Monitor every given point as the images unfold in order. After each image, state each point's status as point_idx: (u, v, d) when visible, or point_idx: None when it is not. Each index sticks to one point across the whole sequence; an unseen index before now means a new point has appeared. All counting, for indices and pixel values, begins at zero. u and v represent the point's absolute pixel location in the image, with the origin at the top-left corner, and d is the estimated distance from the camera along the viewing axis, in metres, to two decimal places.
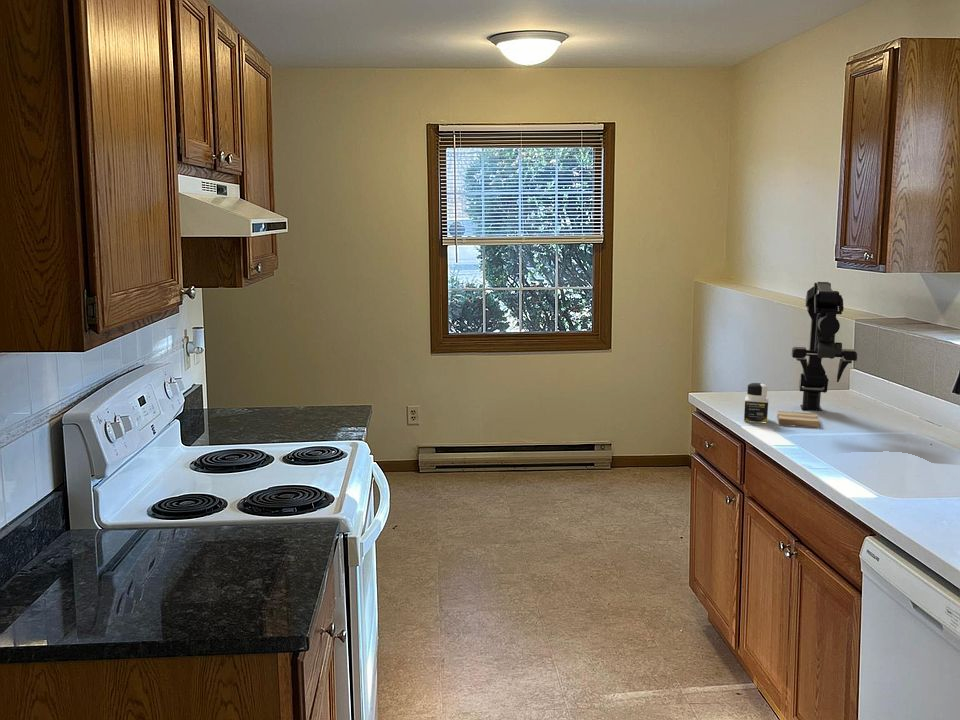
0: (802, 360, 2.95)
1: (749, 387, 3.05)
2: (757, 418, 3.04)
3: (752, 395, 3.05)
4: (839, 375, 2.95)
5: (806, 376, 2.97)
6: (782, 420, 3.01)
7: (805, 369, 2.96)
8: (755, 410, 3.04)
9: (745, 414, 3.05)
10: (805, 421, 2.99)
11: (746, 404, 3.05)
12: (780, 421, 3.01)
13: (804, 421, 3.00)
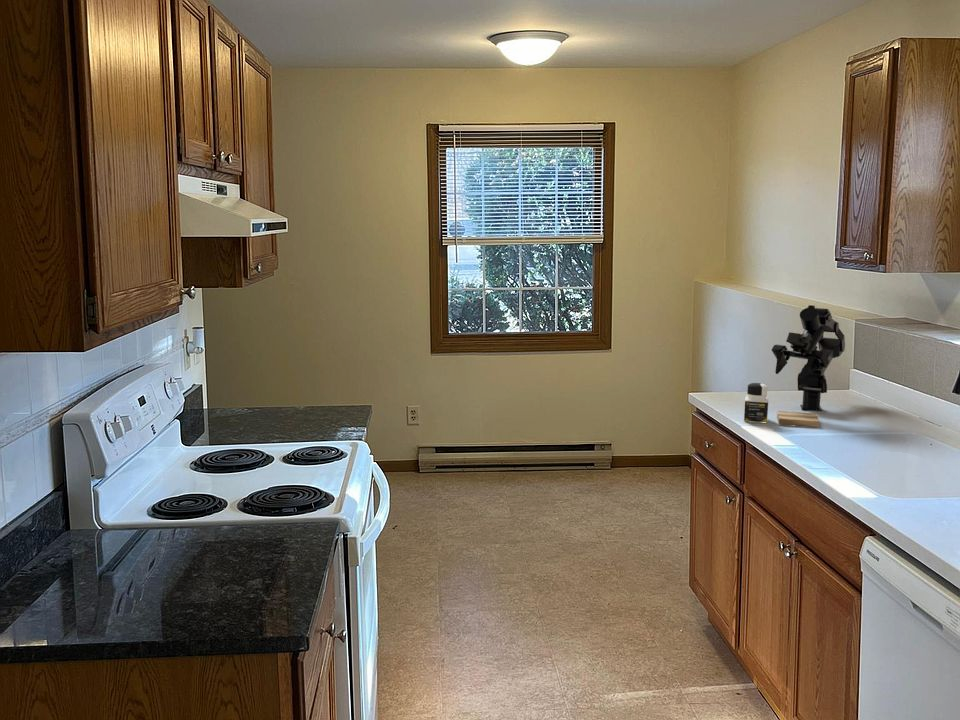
0: (777, 352, 3.19)
1: (749, 387, 3.05)
2: (757, 418, 3.04)
3: (752, 395, 3.04)
4: (803, 370, 3.10)
5: (776, 368, 3.17)
6: (782, 420, 3.01)
7: (778, 362, 3.18)
8: (755, 410, 3.04)
9: (745, 414, 3.05)
10: (805, 421, 2.99)
11: (746, 404, 3.05)
12: (780, 421, 3.01)
13: (804, 421, 3.00)
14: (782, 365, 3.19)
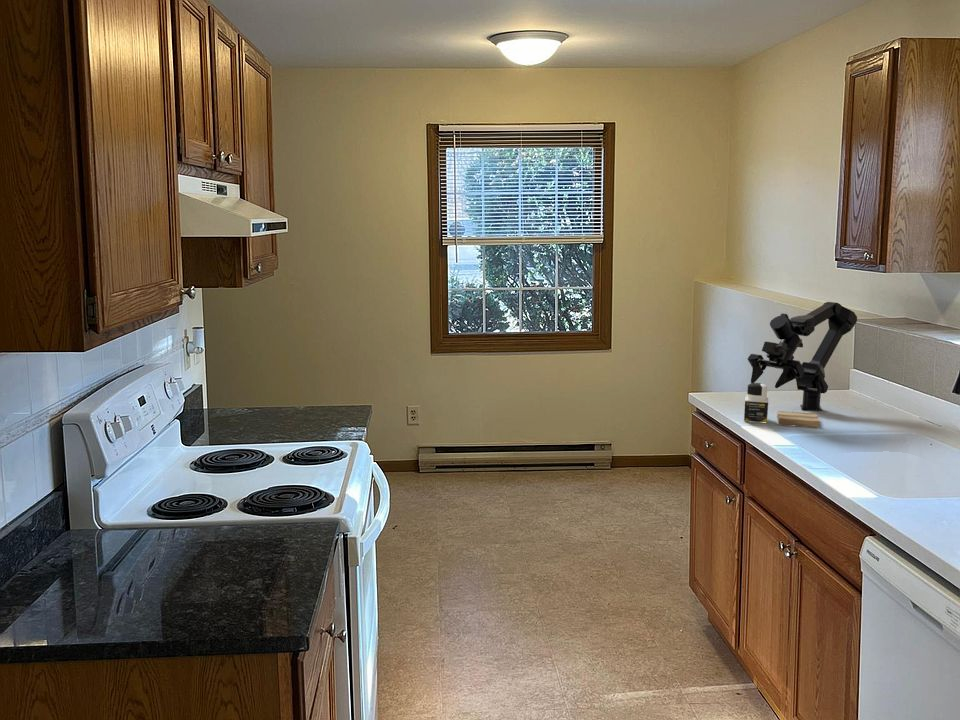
0: (753, 361, 3.14)
1: (749, 387, 3.05)
2: (757, 418, 3.04)
3: (752, 395, 3.04)
4: (778, 380, 3.05)
5: (752, 378, 3.12)
6: (782, 420, 3.01)
7: (753, 372, 3.13)
8: (755, 410, 3.04)
9: (745, 414, 3.05)
10: (805, 421, 2.99)
11: (746, 404, 3.05)
12: (780, 421, 3.01)
13: (804, 421, 3.00)
14: (758, 375, 3.14)
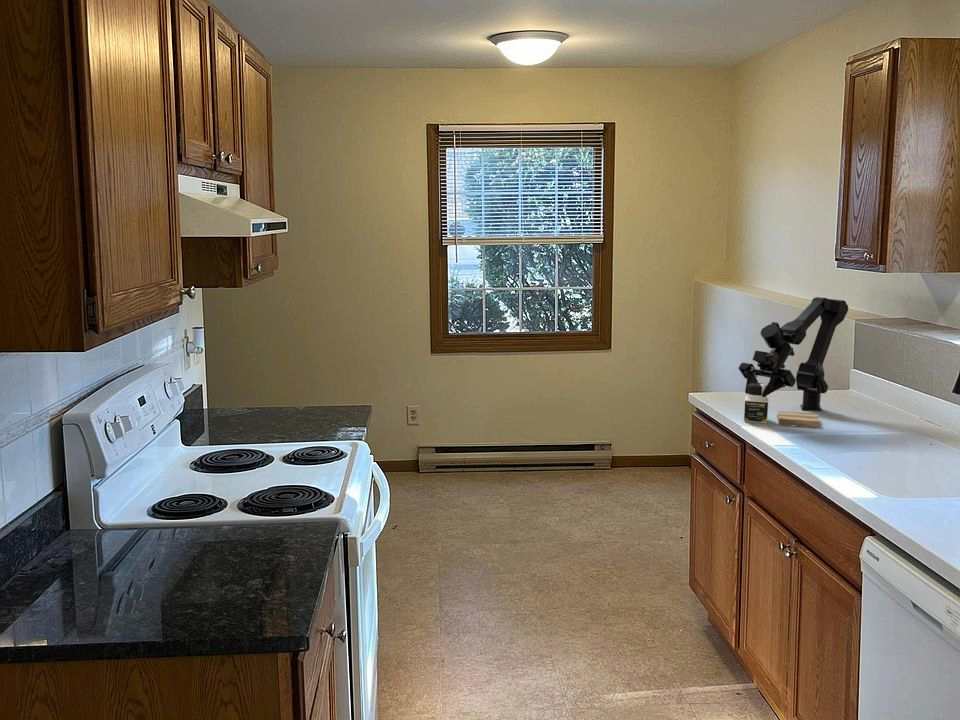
0: (747, 371, 3.10)
1: (749, 387, 3.05)
2: (757, 418, 3.04)
3: (752, 395, 3.04)
4: (765, 389, 3.03)
5: (746, 388, 3.08)
6: (782, 420, 3.01)
7: (748, 381, 3.09)
8: (755, 410, 3.04)
9: (745, 414, 3.05)
10: (805, 421, 2.99)
11: (746, 404, 3.05)
12: (780, 421, 3.01)
13: (804, 421, 3.00)
14: None
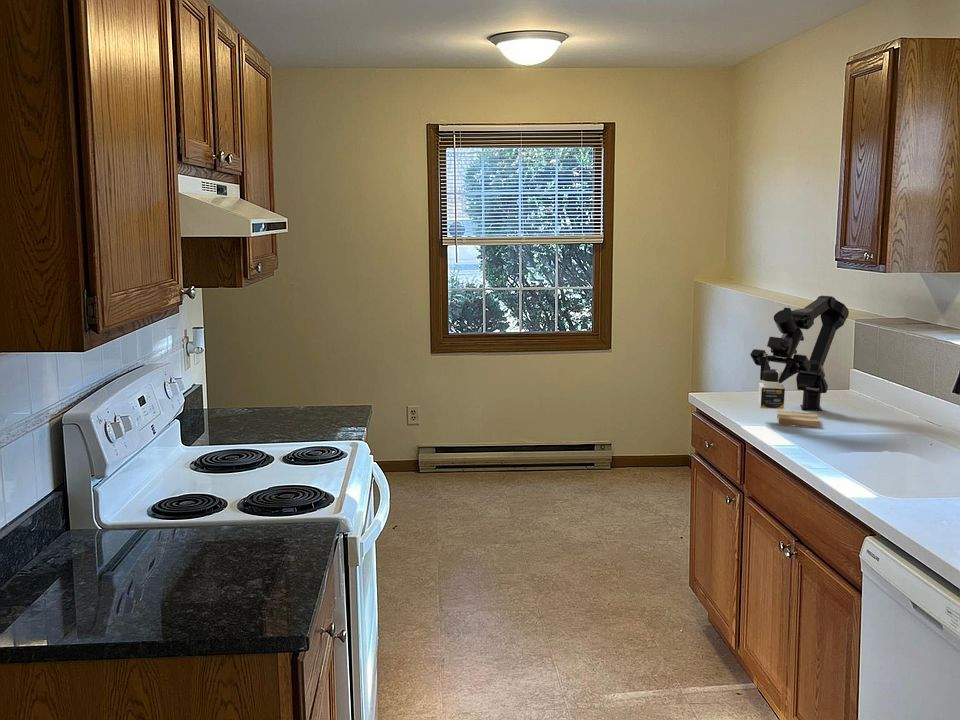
0: (761, 357, 3.08)
1: (765, 374, 3.03)
2: (773, 405, 3.02)
3: (768, 381, 3.02)
4: (782, 375, 3.02)
5: (761, 374, 3.06)
6: (782, 420, 3.01)
7: (762, 368, 3.07)
8: (772, 396, 3.02)
9: (762, 401, 3.03)
10: (805, 421, 2.99)
11: (763, 391, 3.02)
12: (780, 421, 3.01)
13: (804, 421, 3.00)
14: None
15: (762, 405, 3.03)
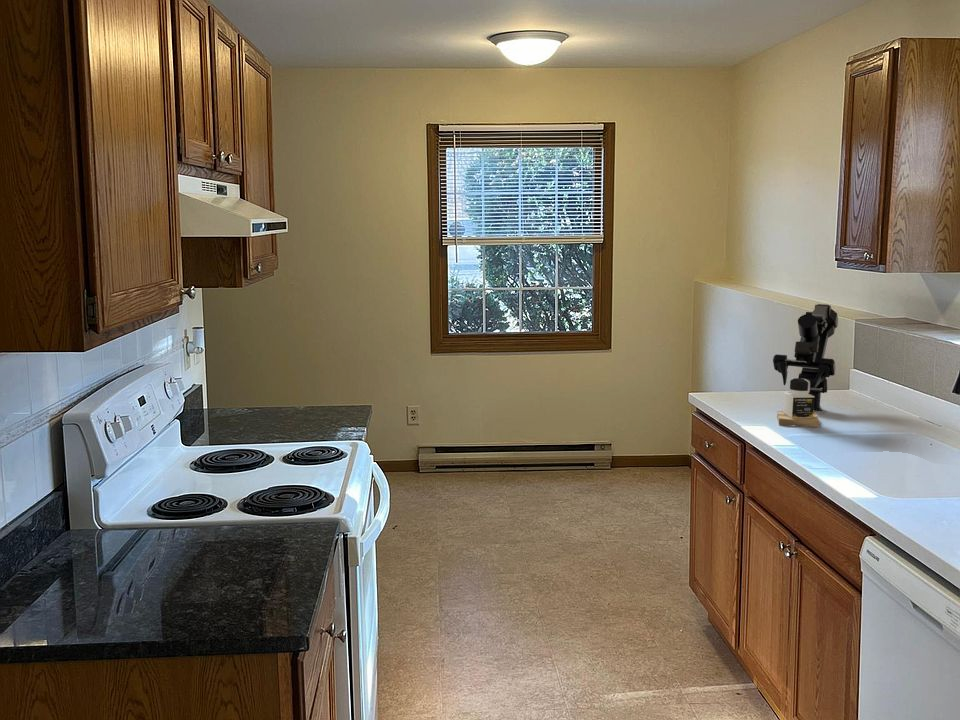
0: (781, 362, 3.07)
1: (795, 383, 3.02)
2: (804, 414, 3.02)
3: (799, 391, 3.02)
4: (816, 380, 3.01)
5: (784, 379, 3.05)
6: (782, 420, 3.01)
7: (784, 373, 3.06)
8: (803, 406, 3.02)
9: (793, 411, 3.02)
10: (805, 421, 2.99)
11: (794, 400, 3.01)
12: (780, 421, 3.01)
13: (804, 421, 3.00)
14: (786, 376, 3.08)
15: (793, 415, 3.02)
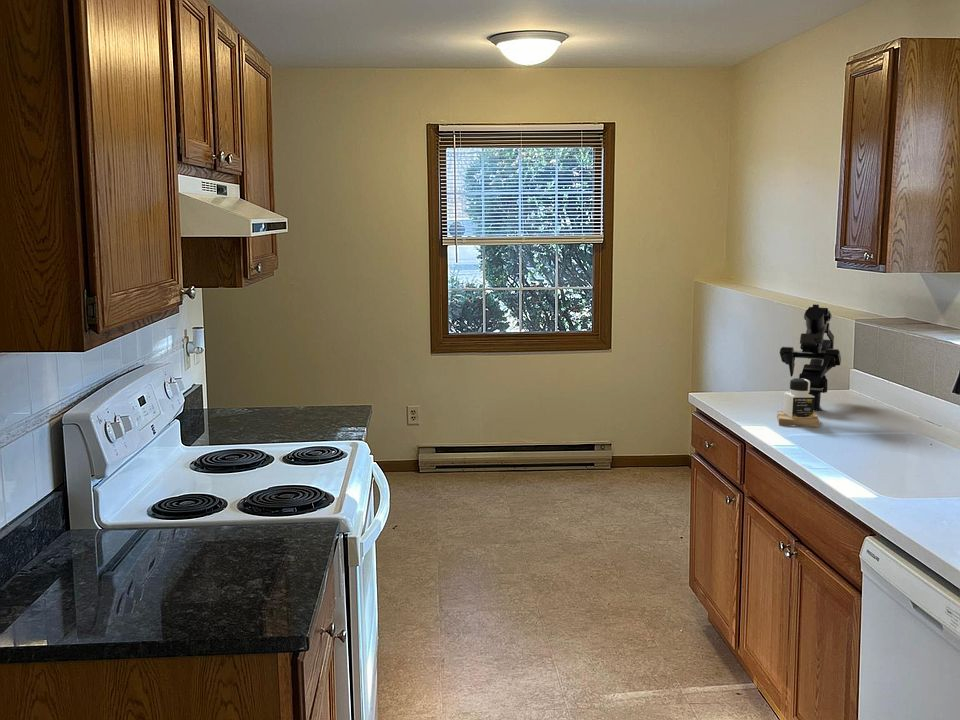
0: (787, 354, 3.15)
1: (795, 383, 3.02)
2: (804, 414, 3.02)
3: (799, 391, 3.02)
4: (821, 370, 3.09)
5: (791, 371, 3.13)
6: (782, 420, 3.01)
7: (790, 364, 3.14)
8: (803, 406, 3.02)
9: (793, 411, 3.02)
10: (805, 421, 2.99)
11: (794, 400, 3.01)
12: (780, 421, 3.01)
13: (804, 421, 3.00)
14: (793, 367, 3.16)
15: (793, 415, 3.02)
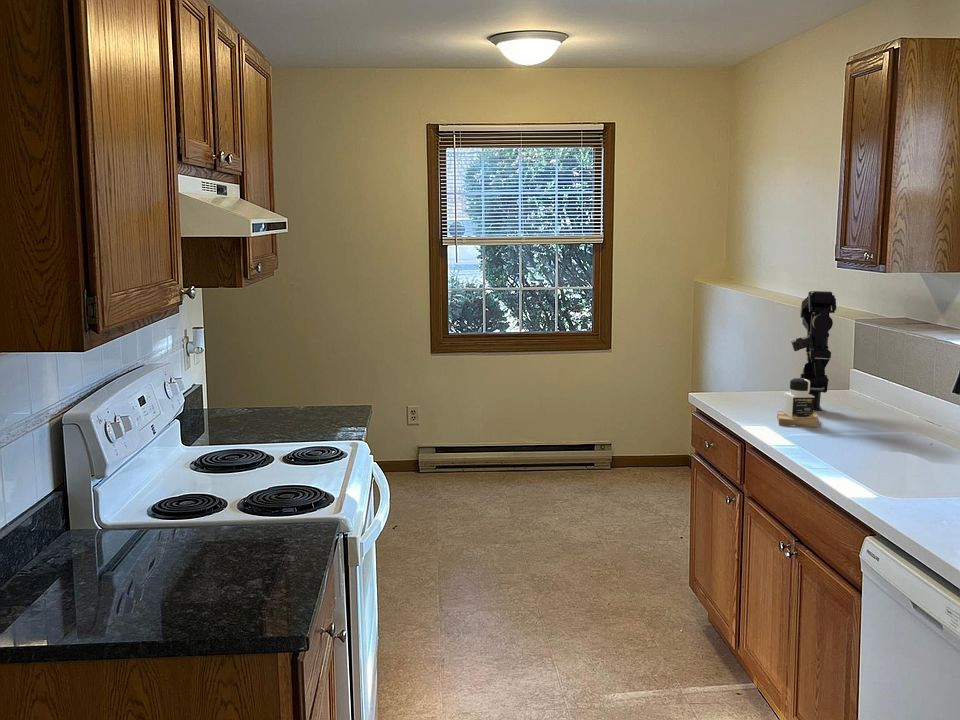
0: (807, 354, 3.20)
1: (795, 383, 3.02)
2: (804, 414, 3.02)
3: (799, 391, 3.02)
4: (815, 372, 3.09)
5: (812, 370, 3.18)
6: (782, 420, 3.01)
7: (811, 363, 3.19)
8: (803, 406, 3.02)
9: (793, 411, 3.02)
10: (805, 421, 2.99)
11: (794, 400, 3.01)
12: (780, 421, 3.01)
13: (804, 421, 3.00)
14: None
15: (793, 415, 3.02)
